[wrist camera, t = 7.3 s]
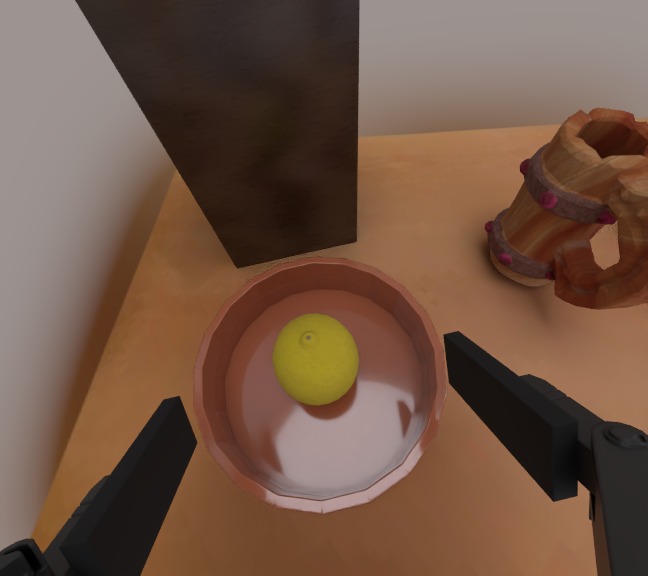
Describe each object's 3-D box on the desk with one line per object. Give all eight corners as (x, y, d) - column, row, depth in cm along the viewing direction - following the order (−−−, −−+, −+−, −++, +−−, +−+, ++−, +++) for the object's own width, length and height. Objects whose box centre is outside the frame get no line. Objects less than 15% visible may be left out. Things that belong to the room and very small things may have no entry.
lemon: (368, 355, 24) (374, 311, 17) (341, 426, 22) (335, 409, 15) (305, 330, 25) (286, 281, 18) (273, 394, 23) (238, 365, 16)
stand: (236, 268, 30) (71, -5, 12) (230, 185, 36) (112, -77, 18) (356, 241, 30) (360, -61, 13) (330, 163, 36) (308, -113, 19)
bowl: (224, 530, 19) (192, 547, 16) (216, 308, 28) (194, 283, 24) (468, 469, 20) (495, 471, 16) (390, 268, 28) (395, 237, 24)
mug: (466, 227, 30) (533, 89, 19) (540, 221, 29) (652, 77, 18) (510, 351, 23) (648, 254, 12) (604, 346, 23) (831, 240, 12)
